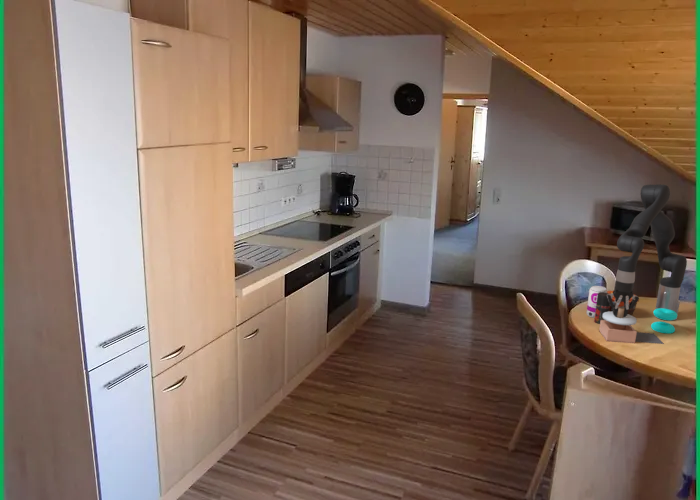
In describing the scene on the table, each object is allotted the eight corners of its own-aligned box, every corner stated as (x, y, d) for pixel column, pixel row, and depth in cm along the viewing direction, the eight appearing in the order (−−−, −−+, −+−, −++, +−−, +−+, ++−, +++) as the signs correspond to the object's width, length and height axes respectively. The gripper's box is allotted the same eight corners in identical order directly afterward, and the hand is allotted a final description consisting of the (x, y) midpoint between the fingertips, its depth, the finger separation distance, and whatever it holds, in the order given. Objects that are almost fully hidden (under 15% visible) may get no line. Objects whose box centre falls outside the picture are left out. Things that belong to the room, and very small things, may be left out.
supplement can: (602, 320, 274) (606, 291, 270) (584, 316, 278) (588, 288, 274) (604, 315, 281) (608, 287, 277) (587, 311, 285) (591, 284, 281)
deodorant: (608, 326, 266) (612, 296, 263) (595, 324, 268) (599, 295, 264) (605, 321, 272) (609, 292, 268) (592, 320, 273) (596, 291, 270)
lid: (630, 315, 256) (632, 303, 254) (640, 326, 242) (642, 314, 241) (598, 312, 258) (600, 301, 256) (607, 323, 244) (609, 312, 243)
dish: (625, 333, 257) (627, 321, 256) (634, 344, 246) (636, 331, 244) (598, 331, 259) (600, 320, 257) (606, 342, 247) (608, 329, 246)
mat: (653, 334, 257) (653, 333, 257) (663, 344, 246) (664, 343, 246) (626, 332, 259) (626, 331, 259) (635, 342, 247) (635, 341, 247)
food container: (642, 320, 275) (645, 300, 272) (609, 319, 275) (612, 299, 272) (627, 309, 290) (630, 290, 287) (596, 308, 290) (599, 289, 288)
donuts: (657, 305, 267) (680, 311, 260) (653, 325, 269) (676, 330, 262) (651, 310, 259) (674, 316, 253) (647, 330, 262) (671, 336, 255)
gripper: (638, 278, 248) (633, 314, 252) (606, 276, 250) (600, 312, 254) (644, 283, 241) (638, 320, 245) (611, 281, 243) (605, 317, 247)
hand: (619, 315), depth 250 cm, fingers closed on lid, 3 cm apart
